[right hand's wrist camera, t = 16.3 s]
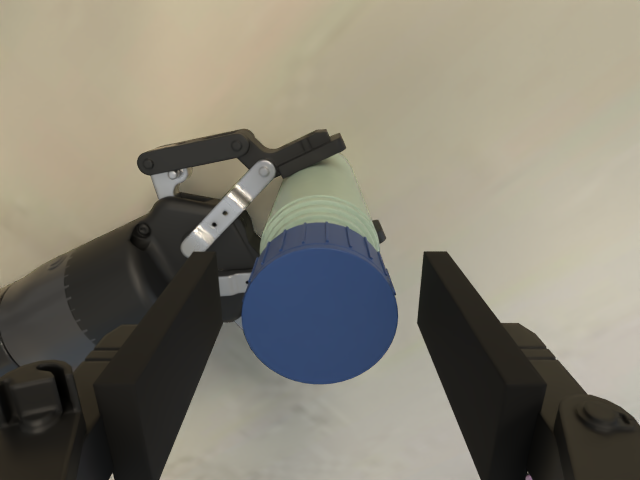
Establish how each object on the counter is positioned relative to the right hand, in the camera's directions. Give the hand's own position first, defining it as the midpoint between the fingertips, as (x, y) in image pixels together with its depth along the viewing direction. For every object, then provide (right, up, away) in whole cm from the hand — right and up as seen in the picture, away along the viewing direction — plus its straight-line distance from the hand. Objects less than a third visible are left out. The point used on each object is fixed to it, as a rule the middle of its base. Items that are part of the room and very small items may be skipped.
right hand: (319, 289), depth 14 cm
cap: (0, -1, -2) cm, 2 cm away
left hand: (+2, +5, +9) cm, 11 cm away
